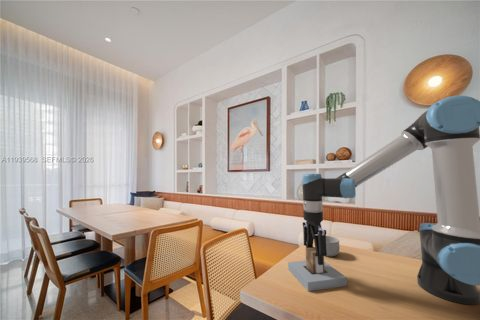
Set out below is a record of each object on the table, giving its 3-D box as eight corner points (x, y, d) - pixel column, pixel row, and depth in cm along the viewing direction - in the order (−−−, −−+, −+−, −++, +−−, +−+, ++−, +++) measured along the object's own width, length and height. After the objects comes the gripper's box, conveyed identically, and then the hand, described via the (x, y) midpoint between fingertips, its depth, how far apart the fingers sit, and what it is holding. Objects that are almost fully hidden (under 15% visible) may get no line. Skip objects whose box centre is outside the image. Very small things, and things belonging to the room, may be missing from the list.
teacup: (342, 259, 93) (342, 242, 94) (319, 257, 95) (318, 241, 96) (334, 248, 107) (334, 233, 107) (314, 247, 109) (313, 232, 110)
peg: (324, 272, 76) (323, 251, 76) (313, 273, 75) (312, 252, 75) (317, 266, 81) (316, 247, 81) (306, 267, 80) (305, 248, 80)
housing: (347, 285, 71) (346, 277, 72) (308, 291, 68) (307, 282, 68) (321, 265, 87) (320, 258, 87) (288, 269, 84) (288, 262, 84)
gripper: (294, 207, 88) (295, 259, 86) (317, 215, 70) (320, 282, 68) (309, 206, 89) (310, 258, 88) (335, 214, 71) (338, 279, 70)
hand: (315, 268), depth 78 cm, fingers open, 5 cm apart
